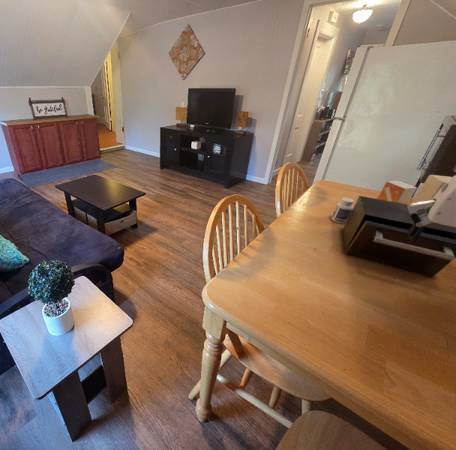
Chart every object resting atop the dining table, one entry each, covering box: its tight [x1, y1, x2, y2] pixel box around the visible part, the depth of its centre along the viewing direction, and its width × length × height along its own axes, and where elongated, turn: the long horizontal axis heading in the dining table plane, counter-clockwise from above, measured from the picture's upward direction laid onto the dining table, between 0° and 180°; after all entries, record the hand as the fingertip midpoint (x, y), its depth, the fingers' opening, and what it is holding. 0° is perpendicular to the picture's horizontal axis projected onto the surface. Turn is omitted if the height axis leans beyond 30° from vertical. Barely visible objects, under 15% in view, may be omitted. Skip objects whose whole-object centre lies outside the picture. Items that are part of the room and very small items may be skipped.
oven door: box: [345, 221, 456, 278], centre depth 73 cm, size 6×22×15 cm, turn 59°
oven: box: [342, 195, 456, 252], centre depth 82 cm, size 16×22×15 cm
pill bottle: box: [331, 197, 355, 224], centre depth 100 cm, size 5×5×10 cm
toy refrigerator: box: [410, 174, 453, 204], centre depth 92 cm, size 8×7×21 cm
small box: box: [376, 180, 418, 205], centre depth 107 cm, size 8×6×13 cm
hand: (436, 244), depth 58 cm, fingers open, 8 cm apart
